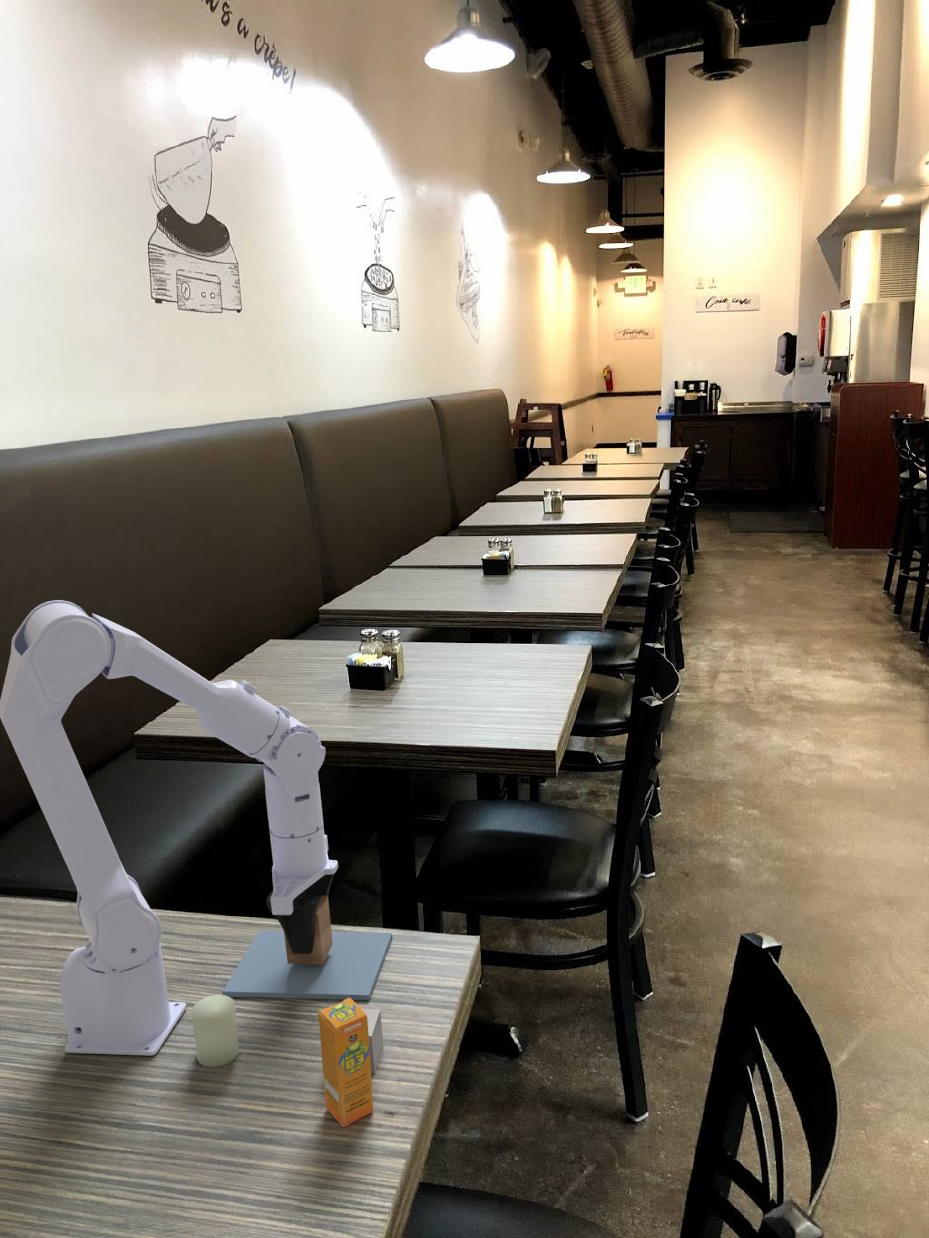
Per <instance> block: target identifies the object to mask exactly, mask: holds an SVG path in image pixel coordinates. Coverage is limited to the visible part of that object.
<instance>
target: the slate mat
mask: <svg viewBox="0 0 929 1238" xmlns="http://www.w3.org/2000/svg"><path fill="white" fill-rule="evenodd" d="M331 932H332V942H333V945H332V947H331V949H330V951H329V953H328V955H327V957H326V959H325V962H324V964H288V962H287V953H286V944H285V935H284V930H259V931H258V932H257V934H256V936H255V937H254V939H253V941H252V942H251V944H250V946H249V947H248V949H247V950H246V952H245V954H244V955H243V956H242V958H241V960H240V962H239V963H238V965H237V967H236V968H235V969H234V971H233V972H232V974H231V976H230V978H229V979H228V981H227V983H226V984H225V986H224V988H223V989H222V991H221V995H225V996H228V997H230V998H233V997H236V998H268V999H269V998H270V999H271V998H272V999H273V998H274V999H276V998H278V999H307V1000H310V999H313V1000H342V1001H344V1000H345V999H347V998H351V999H352V1000H353V1001H370V1000H371V997H372V994H373V992H374V989H375V986H376V984H377V980H378V979H379V975H380V972H381V969H382V966H383V964H384V961H385V959H386V956H387V954H388V951H389V948H390V945H391V943H392V939H393V933H392V932H369V931H368V932H367V931H365V932H364V931H362V932H359V931H331Z"/></svg>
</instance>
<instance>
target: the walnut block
mask: <svg viewBox="0 0 929 1238" xmlns="http://www.w3.org/2000/svg"><path fill="white" fill-rule="evenodd" d="M329 903H330V902H329V895H328V896H322V897H321V899H320V902H319V904H318V908H317V911H316V916H315V927H314V945H313V950H312V952H311V954H294V953H293V952H292V950H291V948H290V945H289V943H288V940H287V938H286V935H285V933H284V935H285V944H286V953H287V962H288V964H324V962H325V959H326V957H327V955H328V953H329V951H330V949H331V947H332V945H333V942H332V932H333V931H332V923H331V915H330V904H329Z"/></svg>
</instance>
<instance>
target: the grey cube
mask: <svg viewBox="0 0 929 1238" xmlns="http://www.w3.org/2000/svg"><path fill="white" fill-rule="evenodd" d="M361 1009H362V1010H363V1011H364V1012H365V1014H366V1015H367V1019H368V1033H369V1049H370V1064H371V1074H375V1073H376V1071H377V1068H378V1064H379V1062H380V1059H381V1058H380V1057H381V1054H382V1052H383V1048H384V1037H383V1026H382V1015H381V1009H380V1008H373V1009H371V1008H361Z"/></svg>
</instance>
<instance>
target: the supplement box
mask: <svg viewBox="0 0 929 1238" xmlns="http://www.w3.org/2000/svg"><path fill="white" fill-rule="evenodd" d="M362 1009H363V1008H361V1007H360V1006H359V1005H358V1004H357V1003H356V1002H355V1000H352V999H351V998H347V999H345V1000H342V1001H341V1002H338V1003H337V1004H334V1005H332V1006H330V1007H325V1008H323V1009H320V1010H319V1011H318V1012H317V1016H318V1017H317V1018H318V1027H319V1040H320V1053H321V1062H322V1075H323V1076H322V1077H323V1088H324V1089H323V1090H324V1101H325V1102H324V1103H325V1108H326V1110H327V1111H328V1112H329V1113H330V1114H331V1115H332V1117H333V1118H334V1119H335V1120H336V1121H337V1122H338V1124H339V1125H340V1126H341V1127H342V1128H346V1127H348V1126H349V1125H351V1124H353V1123H355V1122H357V1121H358V1120H360V1119H363V1118H364V1117H366V1116H368V1115H370V1114H372V1113H373V1112H374V1102H373V1101H374V1100H373V1087H372V1086H373V1085H372V1084H373V1082H372V1073H371V1064H370V1049H369V1033H368V1019H367V1015H366V1014H365V1012H364V1011H363V1010H362Z"/></svg>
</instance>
